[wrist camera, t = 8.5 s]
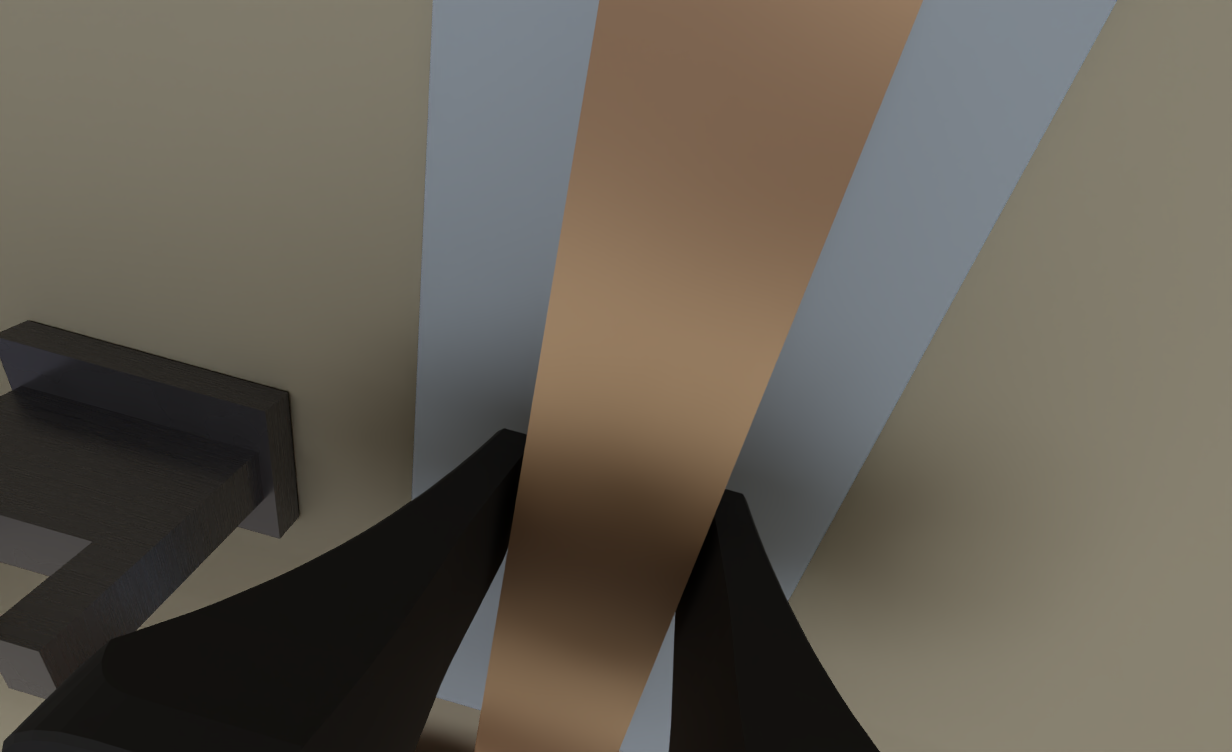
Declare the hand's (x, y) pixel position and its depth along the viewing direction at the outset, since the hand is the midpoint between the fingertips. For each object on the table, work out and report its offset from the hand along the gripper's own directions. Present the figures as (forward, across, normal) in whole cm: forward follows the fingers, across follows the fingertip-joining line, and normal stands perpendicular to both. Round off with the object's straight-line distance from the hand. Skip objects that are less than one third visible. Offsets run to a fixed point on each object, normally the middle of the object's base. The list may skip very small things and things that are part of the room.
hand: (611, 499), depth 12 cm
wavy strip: (+1, 0, 0) cm, 1 cm away
